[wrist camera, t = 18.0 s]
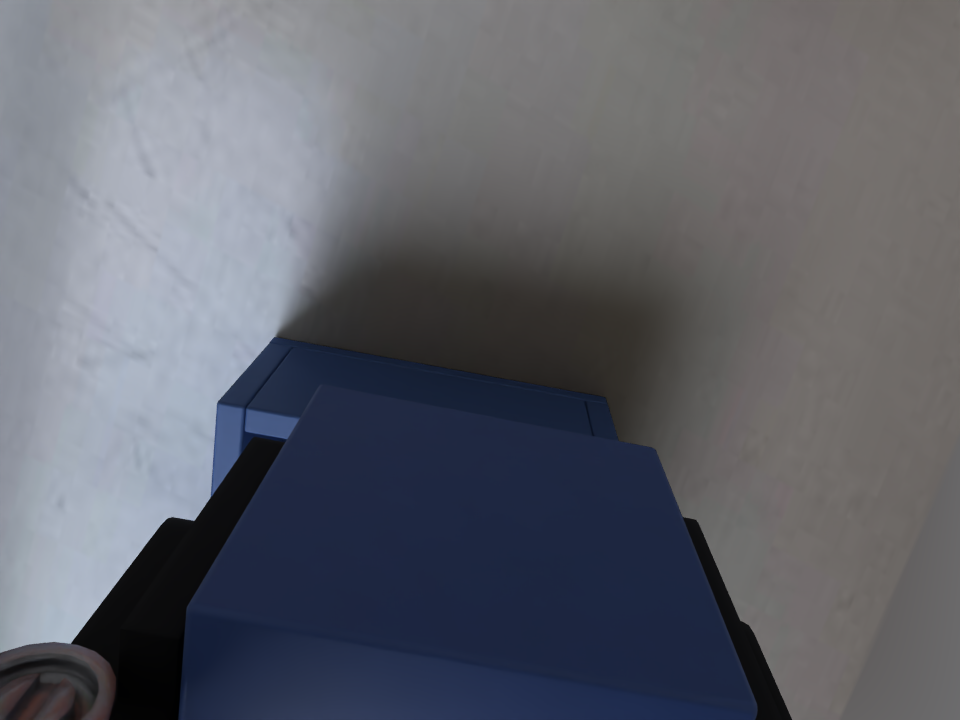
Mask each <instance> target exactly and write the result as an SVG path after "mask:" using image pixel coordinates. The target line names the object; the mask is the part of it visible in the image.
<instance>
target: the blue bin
mask: <svg viewBox="0 0 960 720" xmlns="http://www.w3.org/2000/svg"><path fill="white" fill-rule="evenodd" d="M320 385H328V386H334V387H339V388H344V389H349V390H355V391H360V392H365V393H370V394H375V395H381V396H386V397H391V398H396V399H401V400H407V401H412V402H417V403H422V404H428V405H433V406H438V407H443V408H448V409H454V410H459V411H464V412H469V413H474V414H480V415H485V416H490V417H495V418H501V419H506V420H511V421H516V422H521V423H527V424H532V425H537V426H542V427H547V428H553V429H558V430H563V431H568V432H574V433H579V434H584V435H589V436H594V437H600V438H605V439H610V440H615V441H619V440H618V437H617V434H616V430H615V427H614V424H613V420H612V417H611V414H610V410H609V407H608V405H607V401H606V398H605V397H601V396H595V395H590V394H584V393H579V392H573V391H568V390H562V389H557V388H551V387H546V386H540V385H535V384H529V383H524V382H519V381H513V380H508V379H502V378H497V377H491V376H486V375H480V374H475V373H469V372H464V371H458V370H453V369H447V368H442V367H436V366H431V365H425V364H420V363H414V362H409V361H403V360H398V359H392V358H387V357H381V356H376V355H370V354H365V353H359V352H354V351H349V350H343V349H338V348H332V347H327V346H321V345H316V344H310V343H305V342H299V341H294V340H288V339H283V338H277V337H274V338H273V339H272V341H271V342H270V344H268V346H267V347H266V348H265V349H264V350H263V351H262V352H261V354H260V355H259V356H258V357H257V358H256V359H255V360H254V361H253V363H252V364H251V365H250V366H249V367H248V368H247V369H246V371H245V372H244V373H243V374H242V375H241V376H240V377H239V379H238V380H237V381H236V382H235V383H234V384H233V385H232V386H231V388H230V389H229V390H228V391H227V392H226V393H225V394H224V396H223V397H222V398H221V399H220V400H219V401H218V403H217V414H216V429H215V443H214V458H213V473H212V488H211V497H212V495H213V494H214V492H215V491H216V489H217V488H218V487H219V485H220V484H221V482H222V481H223V479H224V478H225V476H226V475H227V474H228V472H229V471H230V469H231V468H232V466H233V465H234V464H235V462H236V461H237V459H238V458H239V456H240V455H241V453H242V452H243V451H244V449H245V448H246V446H247V445H248V443H249V442H250V440H251V439H252V438H253V437H259V438H265V439H270V440H275V441H281V442H286V441H287V439H288V437H289V436H290V434H291V432H292V431H293V429H294V427H295V425H296V424H297V422H298V420H299V419H300V417H301V415H302V414H303V412H304V410H305V409H306V407H307V405H308V404H309V402H310V400H311V399H312V397H313V395H314V394H315V392H316V390H317V389H318V387H319V386H320Z"/></svg>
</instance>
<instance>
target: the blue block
mask: <svg viewBox="0 0 960 720" xmlns="http://www.w3.org/2000/svg"><path fill="white" fill-rule="evenodd" d="M756 716H757V703H756V701H755V698H754V695H753V693H752V690H751V688H750V685H749V683H748V680H747V678H746V675H745V673H744V670H743V668H742V665H741V663H740V660H739V658H738V655H737V653H736V650H735V648H734V645H733V643H732V640H731V638H730V635H729V633H728V630H727V628H726V625H725V623H724V620H723V618H722V615H721V613H720V610H719V608H718V605H717V603H716V600H715V598H714V595H713V592H712V590H711V587H710V585H709V582H708V580H707V577H706V575H705V572H704V570H703V567H702V565H701V562H700V560H699V557H698V555H697V552H696V550H695V547H694V545H693V542H692V540H691V537H690V535H689V532H688V530H687V527H686V525H685V522H684V520H683V517H682V515H681V512H680V510H679V507H678V505H677V502H676V500H675V497H674V494H673V492H672V489H671V487H670V484H669V482H668V479H667V477H666V474H665V472H664V469H663V467H662V464H661V462H660V459H659V457H658V454H657V452H656V450H655V449H653V448H651V447H647V446H641V445H636V444H631V443H626V442H620V441H615V440H610V439H605V438H600V437H594V436H589V435H584V434H579V433H574V432H568V431H563V430H558V429H553V428H547V427H542V426H537V425H532V424H527V423H521V422H516V421H511V420H506V419H501V418H495V417H490V416H485V415H480V414H474V413H469V412H464V411H459V410H454V409H448V408H443V407H438V406H433V405H428V404H422V403H417V402H412V401H407V400H401V399H396V398H391V397H386V396H381V395H375V394H370V393H365V392H360V391H355V390H349V389H344V388H339V387H334V386H328V385H320V386H319V387H318V389H317V390H316V392H315V394H314V395H313V397H312V399H311V400H310V402H309V404H308V405H307V407H306V409H305V410H304V412H303V414H302V415H301V417H300V419H299V420H298V422H297V424H296V425H295V427H294V429H293V431H292V432H291V434H290V436H289V437H288V439H287V441H286V442H285V444H284V446H283V447H282V449H281V451H280V452H279V454H278V456H277V457H276V459H275V461H274V462H273V464H272V466H271V467H270V469H269V471H268V472H267V474H266V476H265V477H264V479H263V481H262V482H261V484H260V486H259V487H258V489H257V491H256V492H255V494H254V496H253V497H252V499H251V501H250V502H249V504H248V506H247V507H246V509H245V511H244V513H243V514H242V516H241V518H240V519H239V521H238V523H237V524H236V526H235V528H234V529H233V531H232V533H231V534H230V536H229V538H228V539H227V541H226V543H225V544H224V546H223V548H222V549H221V551H220V553H219V554H218V556H217V558H216V559H215V561H214V563H213V564H212V566H211V568H210V569H209V571H208V573H207V574H206V576H205V578H204V579H203V581H202V583H201V584H200V586H199V588H198V589H197V591H196V593H195V595H194V596H193V598H192V600H191V601H190V603H189V605H188V606H187V610H186V623H185V637H184V650H183V664H182V677H181V691H180V704H179V718H178V720H755V718H756Z"/></svg>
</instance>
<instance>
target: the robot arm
mask: <svg viewBox="0 0 960 720" xmlns="http://www.w3.org/2000/svg"><path fill="white" fill-rule="evenodd" d="M284 444H285V442H281V441H275V440H270V439H265V438H259V437H253V438H252V439H251V440H250V442H249V443H248V445H247V446H246V448H245V449H244V451H243V452H242V453H241V455H240V456H239V458H238V459H237V461H236V462H235V464H234V465H233V466H232V468H231V469H230V471H229V472H228V474H227V475H226V476H225V478H224V479H223V481H222V482H221V484H220V485H219V487H218V488H217V489H216V491H215V492H214V494H213V495H212V497H211V498H210V500H209V501H208V502H207V504H206V505H205V507H204V508H203V510H202V511H201V513H200V514H199V515H198V517H197V518H196V520H195V521H191V520H185V519H180V518H174V517H171V518H168V519H167V520H166V521H165V522H164V523H163V524H162V525H161V526H160V527H159V529H158V530H157V531H156V532H155V534H154V535H153V536H152V538H151V539H150V540H149V542H148V543H147V544H146V546H145V547H144V548H143V550H142V551H141V552H140V553H139V555H138V556H137V557H136V559H135V560H134V561H133V563H132V564H131V565H130V567H129V568H128V569H127V571H126V572H125V573H124V574H123V576H122V577H121V578H120V580H119V581H118V582H117V584H116V585H115V586H114V588H113V589H112V590H111V592H110V593H109V594H108V595H107V597H106V598H105V599H104V601H103V602H102V603H101V605H100V606H99V607H98V609H97V610H96V611H95V613H94V614H93V615H92V616H91V618H90V619H89V620H88V622H87V623H86V624H85V626H84V627H83V628H82V630H81V631H80V632H79V634H78V635H77V636H76V637H75V639H74V640H73V641H72V643H71V644H67V643H57V642H50V643H40V644H30V645H26V646H22V647H19V648H15V649H12V650H8V651H5V652H2V653H0V720H178V718H179V704H180V691H181V677H182V664H183V650H184V637H185V623H186V610H187V606H188V605H189V603H190V601H191V600H192V598H193V596H194V595H195V593H196V591H197V589H198V588H199V586H200V584H201V583H202V581H203V579H204V578H205V576H206V574H207V573H208V571H209V569H210V568H211V566H212V564H213V563H214V561H215V559H216V558H217V556H218V554H219V553H220V551H221V549H222V548H223V546H224V544H225V543H226V541H227V539H228V538H229V536H230V534H231V533H232V531H233V529H234V528H235V526H236V524H237V523H238V521H239V519H240V518H241V516H242V514H243V513H244V511H245V509H246V507H247V506H248V504H249V502H250V501H251V499H252V497H253V496H254V494H255V492H256V491H257V489H258V487H259V486H260V484H261V482H262V481H263V479H264V477H265V476H266V474H267V472H268V471H269V469H270V467H271V466H272V464H273V462H274V461H275V459H276V457H277V456H278V454H279V452H280V451H281V449H282V447H283V446H284ZM683 520H684V522H685V525H686V527H687V530H688V532H689V535H690V537H691V540H692V542H693V545H694V547H695V550H696V552H697V555H698V557H699V560H700V562H701V565H702V567H703V570H704V572H705V575H706V577H707V580H708V582H709V585H710V587H711V590H712V592H713V595H714V598H715V600H716V603H717V605H718V608H719V610H720V613H721V615H722V618H723V620H724V623H725V625H726V628H727V630H728V633H729V635H730V638H731V640H732V643H733V645H734V648H735V650H736V653H737V655H738V658H739V660H740V663H741V665H742V668H743V670H744V673H745V675H746V678H747V680H748V683H749V685H750V688H751V690H752V693H753V695H754V698H755V701H756V703H757V716H756V718H755V720H792V718H791V716H790V714H789V712H788V709H787V707H786V705H785V703H784V700H783V698H782V696H781V694H780V691H779V689H778V687H777V685H776V682H775V680H774V678H773V676H772V673H771V671H770V669H769V666H768V664H767V662H766V660H765V657H764V655H763V653H762V651H761V648H760V646H759V644H758V642H757V639H756V637H755V635H754V633H753V631H752V630H751V628H750V626H749V625H747V624H746V623H744V622H741V621H740V619H739V617H738V615H737V612H736V610H735V608H734V605H733V603H732V601H731V598H730V596H729V594H728V591H727V589H726V587H725V584H724V582H723V580H722V577H721V575H720V573H719V570H718V568H717V566H716V563H715V561H714V559H713V556H712V554H711V552H710V549H709V547H708V544H707V542H706V540H705V537H704V535H703V533H702V530H701V528H700V526H699V524H698V522H697V521H696V520H694V519H690V518H684V517H683Z"/></svg>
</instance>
